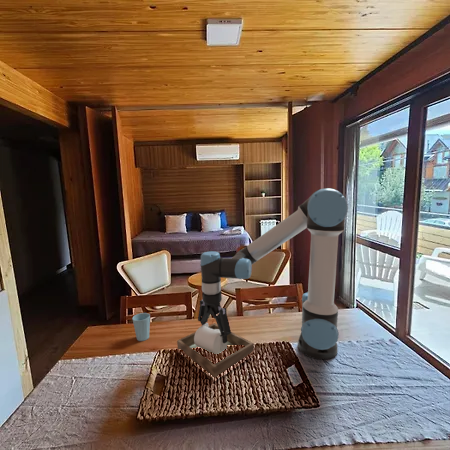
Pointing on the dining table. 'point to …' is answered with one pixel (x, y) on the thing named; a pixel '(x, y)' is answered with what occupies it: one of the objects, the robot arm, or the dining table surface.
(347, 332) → the dining table surface
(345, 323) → the dining table surface
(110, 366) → the dining table surface
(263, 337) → the dining table surface
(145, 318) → the cup
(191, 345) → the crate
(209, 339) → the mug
